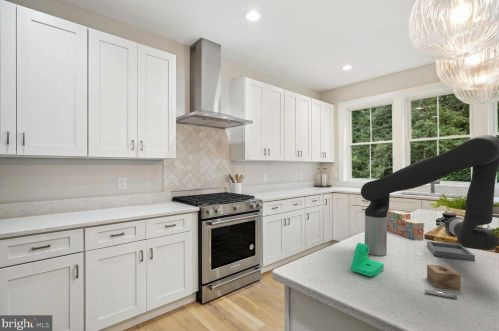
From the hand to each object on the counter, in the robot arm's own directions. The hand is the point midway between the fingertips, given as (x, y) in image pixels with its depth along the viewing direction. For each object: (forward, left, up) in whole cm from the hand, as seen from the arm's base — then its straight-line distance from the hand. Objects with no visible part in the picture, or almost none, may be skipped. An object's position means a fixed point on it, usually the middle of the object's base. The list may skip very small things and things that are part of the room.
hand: (447, 219), depth 119 cm
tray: (0, -3, -15) cm, 15 cm away
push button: (0, -3, -6) cm, 7 cm away
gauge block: (-11, -40, -15) cm, 44 cm away
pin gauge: (-14, -50, -15) cm, 54 cm away
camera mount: (-35, -39, -15) cm, 54 cm away
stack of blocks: (-15, +23, -15) cm, 32 cm away
